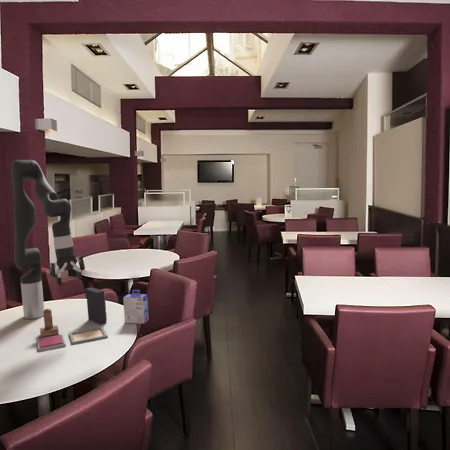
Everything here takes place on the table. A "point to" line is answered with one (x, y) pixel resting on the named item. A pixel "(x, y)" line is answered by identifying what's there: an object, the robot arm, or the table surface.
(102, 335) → the grey flat frame
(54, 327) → the wooden stamp
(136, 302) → the ink cartridge box
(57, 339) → the ink pad
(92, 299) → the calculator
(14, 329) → the table surface
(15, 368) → the table surface
